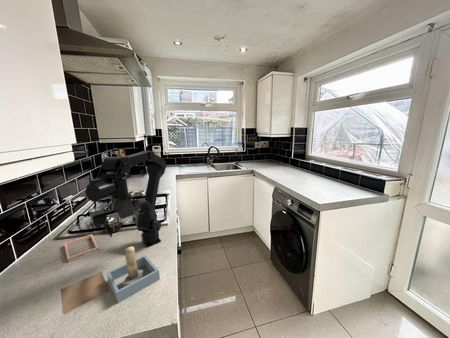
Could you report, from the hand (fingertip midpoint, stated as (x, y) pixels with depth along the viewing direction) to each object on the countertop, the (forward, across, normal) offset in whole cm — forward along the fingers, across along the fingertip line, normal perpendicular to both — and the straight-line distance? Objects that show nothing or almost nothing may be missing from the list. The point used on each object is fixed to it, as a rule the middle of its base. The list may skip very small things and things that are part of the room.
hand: (124, 231), depth 72 cm
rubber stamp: (+12, -2, -12) cm, 18 cm away
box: (+13, -2, -12) cm, 18 cm away
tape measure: (+13, +3, +34) cm, 36 cm away
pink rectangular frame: (+13, -12, +26) cm, 31 cm away
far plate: (+13, -15, -6) cm, 20 cm away
